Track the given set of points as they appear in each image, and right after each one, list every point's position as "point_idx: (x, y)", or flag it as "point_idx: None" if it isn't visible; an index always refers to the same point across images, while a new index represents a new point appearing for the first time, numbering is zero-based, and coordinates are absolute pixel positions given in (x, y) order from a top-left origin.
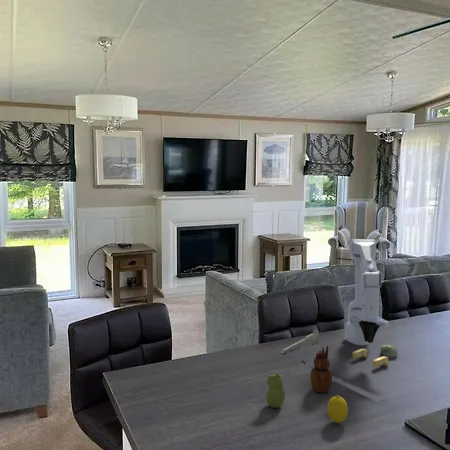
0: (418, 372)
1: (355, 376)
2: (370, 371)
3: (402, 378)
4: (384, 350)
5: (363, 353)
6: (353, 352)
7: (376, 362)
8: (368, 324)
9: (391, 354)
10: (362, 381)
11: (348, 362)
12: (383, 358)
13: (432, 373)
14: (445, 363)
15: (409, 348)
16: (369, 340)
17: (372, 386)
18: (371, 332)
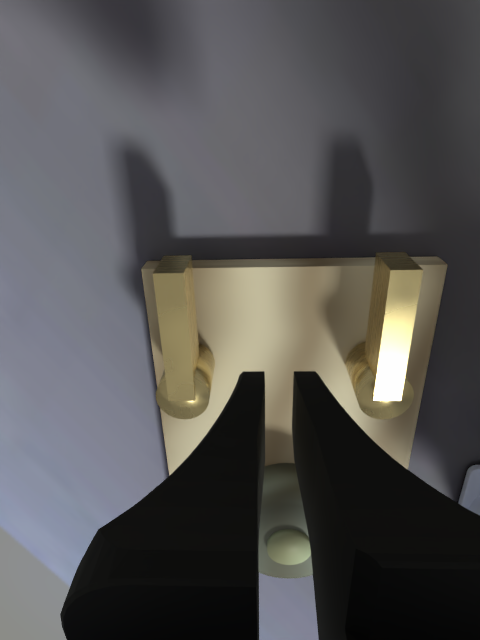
0: (67, 454)
1: (225, 61)
2: (222, 247)
3: (41, 327)
4: (287, 499)
5: (366, 365)
6: (409, 273)
7: (157, 279)
8: (210, 614)
9: None
10: (126, 29)
11: (426, 242)
12: (165, 371)
13: (28, 491)
14: None
15: (294, 627)
16: (236, 386)
17: (19, 22)
18: (177, 474)
